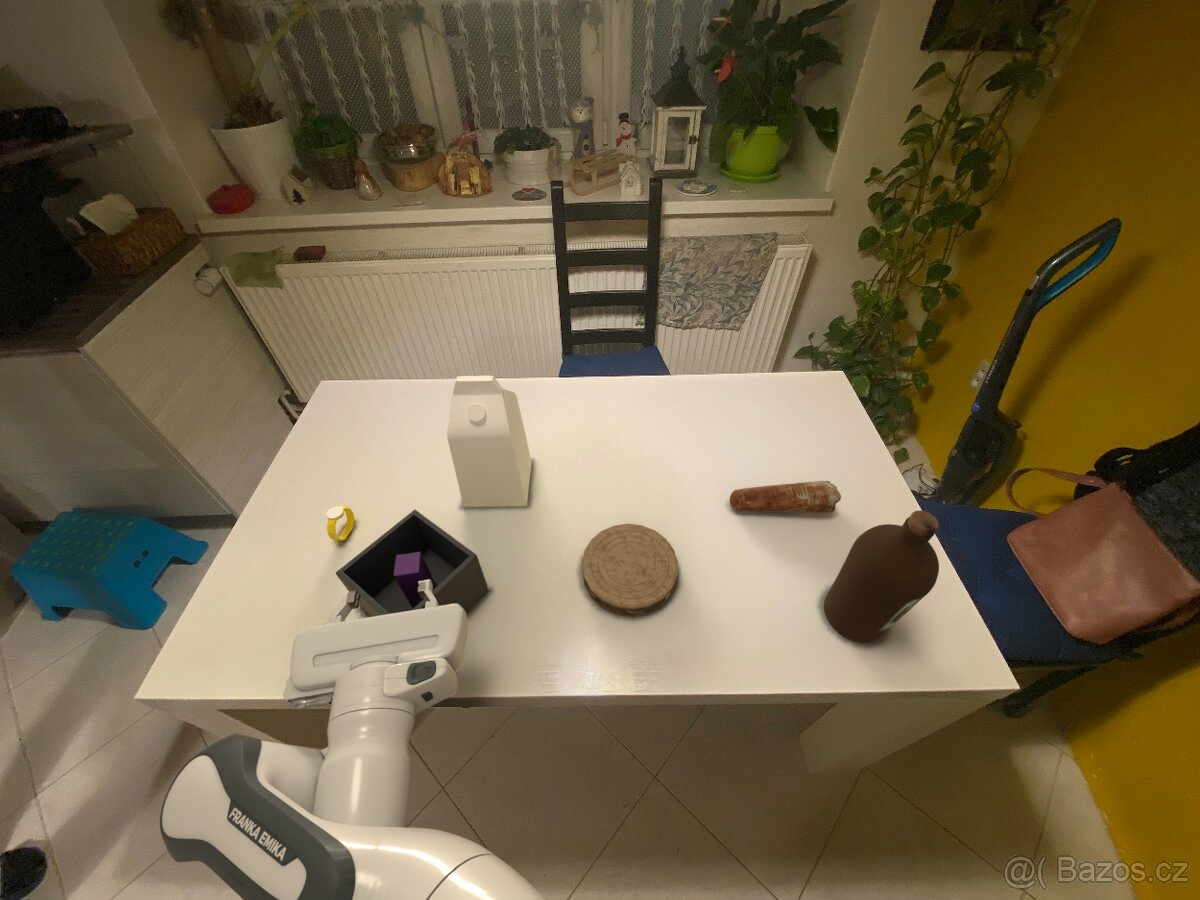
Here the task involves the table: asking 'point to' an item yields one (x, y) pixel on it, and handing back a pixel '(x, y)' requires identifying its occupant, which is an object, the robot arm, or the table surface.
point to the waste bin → (442, 555)
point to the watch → (334, 515)
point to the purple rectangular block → (411, 575)
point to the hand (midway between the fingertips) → (389, 587)
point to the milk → (488, 444)
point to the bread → (787, 498)
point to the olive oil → (883, 578)
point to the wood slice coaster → (629, 569)
